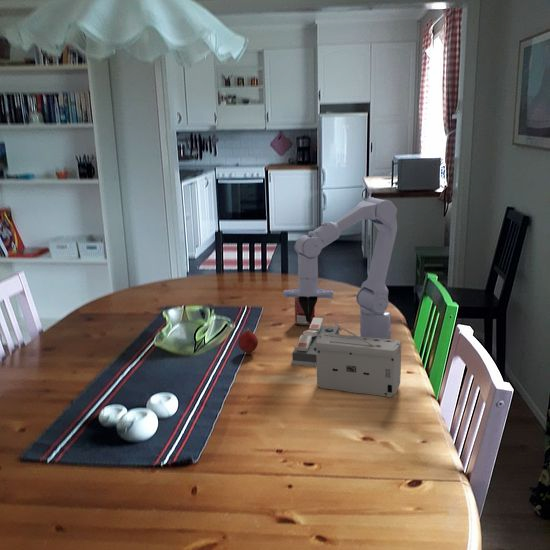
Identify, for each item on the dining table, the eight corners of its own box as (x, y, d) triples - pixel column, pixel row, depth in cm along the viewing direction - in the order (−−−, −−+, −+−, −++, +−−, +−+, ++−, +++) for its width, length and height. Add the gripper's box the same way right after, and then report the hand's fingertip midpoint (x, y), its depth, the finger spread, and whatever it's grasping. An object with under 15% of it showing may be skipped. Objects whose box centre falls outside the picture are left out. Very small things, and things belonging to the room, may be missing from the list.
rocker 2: (323, 321, 179) (323, 318, 179) (319, 332, 174) (319, 328, 174) (313, 320, 180) (313, 317, 180) (309, 331, 175) (309, 327, 175)
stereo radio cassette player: (400, 386, 144) (402, 312, 139) (396, 400, 136) (398, 323, 131) (322, 376, 151) (321, 306, 146) (313, 390, 143) (312, 316, 138)
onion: (235, 355, 166) (234, 330, 164) (245, 349, 171) (244, 324, 169) (252, 359, 164) (251, 333, 162) (261, 352, 169) (260, 327, 167)
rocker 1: (311, 339, 165) (311, 335, 164) (307, 351, 160) (306, 347, 159) (301, 338, 165) (301, 334, 165) (296, 350, 161) (296, 346, 160)
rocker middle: (317, 334, 172) (317, 330, 172) (313, 336, 166) (313, 332, 166) (307, 334, 173) (307, 329, 173) (302, 335, 167) (303, 331, 167)
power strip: (339, 333, 181) (339, 322, 181) (322, 367, 156) (321, 355, 155) (312, 331, 184) (312, 321, 183) (291, 364, 159) (290, 352, 158)
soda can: (307, 328, 188) (307, 293, 185) (291, 324, 192) (290, 290, 189) (318, 322, 193) (318, 289, 190) (302, 318, 197) (301, 286, 194)
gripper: (333, 273, 166) (333, 316, 169) (284, 273, 168) (286, 315, 171) (332, 279, 159) (332, 324, 163) (282, 279, 161) (283, 323, 165)
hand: (308, 320), depth 167 cm, fingers closed
